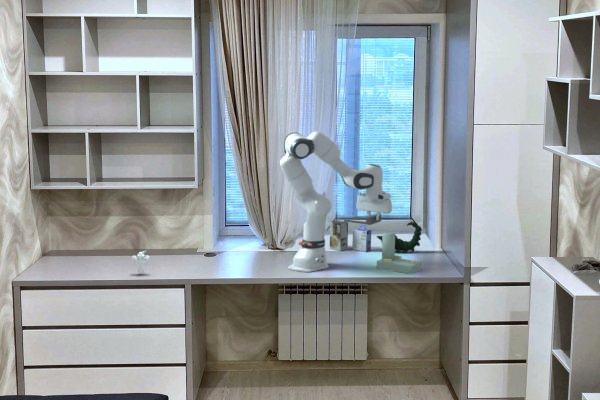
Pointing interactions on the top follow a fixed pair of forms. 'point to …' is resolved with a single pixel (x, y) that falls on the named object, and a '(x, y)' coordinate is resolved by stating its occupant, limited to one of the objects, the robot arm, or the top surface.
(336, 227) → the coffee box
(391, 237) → the flanged cylinder mount
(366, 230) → the ink cartridge box
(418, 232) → the toy figurine
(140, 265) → the hat wearing toy figure
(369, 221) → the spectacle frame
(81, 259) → the top surface
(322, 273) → the top surface
